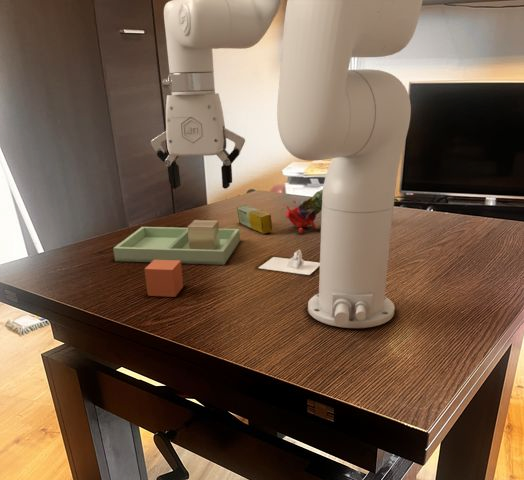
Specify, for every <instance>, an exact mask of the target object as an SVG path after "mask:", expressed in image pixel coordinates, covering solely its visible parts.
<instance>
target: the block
mask: <svg viewBox="0 0 524 480" xmlns="http://www.w3.org/2000/svg"><path fill="white" fill-rule="evenodd" d="M187 228H188V237H189V249H205V250H216V249H217V248H218V247H219V245H220V237H219V229H220V223H219V220H207V219H206V220H205V219H201V220H200V219H193V221H192V222H191V223H189V225H188V226H187Z"/></svg>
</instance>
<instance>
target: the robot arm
mask: <svg viewBox="0 0 524 480" xmlns="http://www.w3.org/2000/svg"><path fill="white" fill-rule="evenodd" d="M282 2H283V0H169V1H168V2H166V3H165V5H164V7H163V20H164V21H163V22H164V30H165V40H166V50H167V51H166V53H167V61H168V70H169V74H168V77H167V78H163V79H162V87H163V88H167V89H169V91H170V92H171V94H167V95H166V103H165V131H164V132H162V133H161V134H159V135H158V136H156V137H155V138H153V139H152V140H150V145H151V147H152V149H153V150H154V152H155V153H156V156H157V157H158V159H160V161H162V162H163V163H164V165H165V167H167V175H168V183H169V184H171V189H172V190H176V189H178V188H179V187H181V177H180V166H179V164H177V161H178V160H179V158H180V157H202V156H203V157H204V156H205V157H206V156H207V157H208V156H209V157H210V156H217V157H218V159H219V160H220V162H222V165H221V166H220V168H221V170H220V171H221V186H222V187H221V188H223V189H224V190H226V189H228V188H229V187H230V185H231V184H232V183H233V170H232V169H233V167H232V164H233V163H234V162H235V160H236V159H237V158H238V157H239V156H240V154H241V151H242V150H243V147H244V146H245V143H246V139H245V137H243V136H241V135H239V134H237V133H236V132H233V131H231V130H230V129H228V128H226V125H225V118H224V117H225V116H224V112H223V106H222V102H221V97H220V93H216V87H215V72H214V71H215V70H214V69H215V68H214V57H213V56H214V55H213V54H214V53H213V50H217V49H218V50H219V49H235V50H237V49H238V50H241V49H245V50H246V49H250V48H252V47H254V46H256V45H257V44H258V43H259V42H260V41H261V40H262V39H263V38H264V36H265V35H266V33H267V32H268V30H269V29H270V27H271V25H272V23H273V22H274V19H275V18H276V17H277V14H278V12H279V11H280V9H281V5H282ZM422 5H423V0H287V1H286V8H285V14H284V22H283V33H282V45H281V57H280V67H279V68H280V69H279V79H278V91H277V104H276V105H277V106H276V119H277V120H276V121H277V128H278V129H277V130H278V134H279V137H280V140H281V142H282V144H283V146H284V148H285V149H286V151H287V152H288V153H289V154H290V155H292V156H293V157H295V158H296V159H299V160H302V161H308V162H309V161H310V162H313V161H322V160H323V161H325V160H331V161H330V163H329V165H328V167H327V170H326V174H325V177H324V179H323V186H322V190H323V194H322V210H321V218H320V219H321V220H320V227H321V229H320V245H319V246H320V248H319V249H320V250H319V254H320V255H319V263H320V266H319V276H318V277H319V278H318V293H316V294H314V295H313V296H312V297H311V298H309V300H308V302H307V313H308V314H309V315H310V316H311V317H312V318H313V319H315V320H316V321H318V322H319V323H322V324H325V325H328V326H332V327H337V328H342V329H343V328H344V329H366V328H367V329H368V328H374V327H377V326H381V325H383V324H386V323H387V322H390V320H392V318H393V317H394V315H395V307H396V306H395V303H394V302H393V301H392V300H391V299H389V298H388V297H387V296H386V290H387V289H386V287H387V278H388V266H389V257H390V247H391V235H392V226H393V216H394V206H395V199H396V191H397V190H396V189H397V179H398V172H399V168H400V163H401V157H402V154H403V150H404V146H405V143H406V139H407V136H408V131H409V129H410V123H411V115H412V113H411V112H412V104H411V98H410V95H409V92H408V90H407V88H406V86H405V85H404V84H403V82H402V81H401V80H400V79H399V78H398V77H396V76H395V75H393V74H391V72H387V71H384V70H380V69H370V68H368V69H366V68H365V69H364V68H362V69H350V63H351V60H352V59H351V58H382V57H388V56H389V57H390V56H393V55H395V54H397V53H400V52H401V51H402V50H403V49H405V48H406V47H408V45H409V43H410V42H411V40H412V39H413V37H414V35H415V32H416V29H417V25H418V22H419V18H420V15H421V10H422ZM227 140H229V141H231V142H233V143H234V146H233V150H232V151H231V152H230V153H229V151H227V150H226V149H227ZM165 142H166V146H167V147H166V148H167V151H168V152H167V151H166V150H164V147H163V145H162V144H163V143H165Z"/></svg>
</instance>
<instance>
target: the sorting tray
mask: <svg viewBox="0 0 524 480" xmlns="http://www.w3.org/2000/svg"><path fill="white" fill-rule="evenodd" d="M240 231H241V229H240V228H219V237H220V245H219V247H218V248H217V249H216V250H205V249H189V237H188V227H170V226H169V227H167V226H140V228H138V229H137V230H136V231H134V232H133V233H131V234H130V235H129V236H128V237H126V238H125V239H124V240H122V241H121V242H119V243H118V244H116V245H115V246H114V247H113V255H114V256H113V257H114V261H115V262H126V263H127V262H129V263H131V262H132V263H151V262H152V261H153V260H179V261H181V264H188V265H191V264H192V265H193V264H195V265H222V266H225V265H226V263H227V261H228V260H229V258H230V257H231V255H232V254H233V252H234V251H235V249H236V248H237V247H238V245H239V243H240V242H241V232H240Z"/></svg>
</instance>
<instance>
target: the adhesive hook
mask: <svg viewBox="0 0 524 480" xmlns="http://www.w3.org/2000/svg"><path fill="white" fill-rule="evenodd" d="M288 259H289V260H288V261H287V264H286V266H287V267H289V268H294V269H297V268H299V267H302V266H304V265H305V261H306V260H304V259H303V253H302V250H301V249H298V250H296V251H295V252H294V253H293V256H292V257H290V258H288Z"/></svg>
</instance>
